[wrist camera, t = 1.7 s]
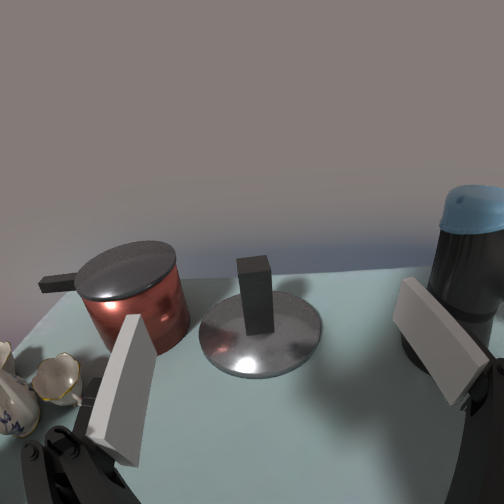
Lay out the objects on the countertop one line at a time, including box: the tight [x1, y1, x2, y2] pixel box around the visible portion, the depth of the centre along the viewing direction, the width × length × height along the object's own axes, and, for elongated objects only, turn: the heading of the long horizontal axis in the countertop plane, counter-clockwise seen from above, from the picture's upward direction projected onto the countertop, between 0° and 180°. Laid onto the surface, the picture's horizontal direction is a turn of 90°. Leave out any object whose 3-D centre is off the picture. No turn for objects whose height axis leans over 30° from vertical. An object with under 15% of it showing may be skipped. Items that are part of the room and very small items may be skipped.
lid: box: [199, 255, 320, 379], centre depth 37 cm, size 18×18×12 cm
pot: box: [38, 241, 190, 356], centre depth 39 cm, size 27×17×12 cm, turn 96°
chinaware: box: [0, 342, 83, 438], centre depth 22 cm, size 28×17×17 cm, turn 96°
